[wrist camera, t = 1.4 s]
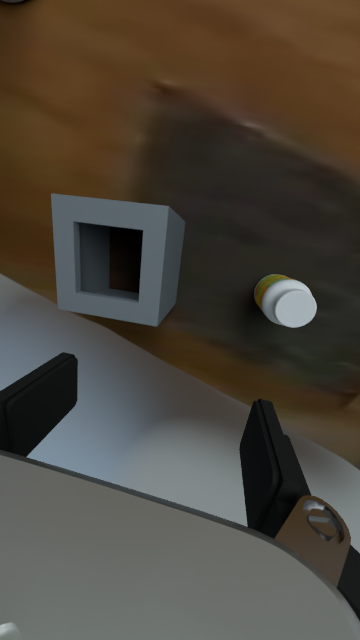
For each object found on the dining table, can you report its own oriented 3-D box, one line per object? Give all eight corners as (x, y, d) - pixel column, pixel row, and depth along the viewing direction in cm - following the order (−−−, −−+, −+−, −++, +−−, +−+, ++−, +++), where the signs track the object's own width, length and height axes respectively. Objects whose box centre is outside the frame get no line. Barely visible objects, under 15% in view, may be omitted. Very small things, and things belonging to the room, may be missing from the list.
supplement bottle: (274, 265, 30) (299, 271, 21) (301, 291, 31) (337, 308, 21) (245, 293, 32) (256, 310, 23) (271, 317, 32) (292, 343, 23)
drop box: (105, 212, 32) (51, 193, 21) (185, 221, 30) (168, 206, 20) (104, 292, 36) (58, 309, 25) (175, 303, 34) (157, 326, 24)
